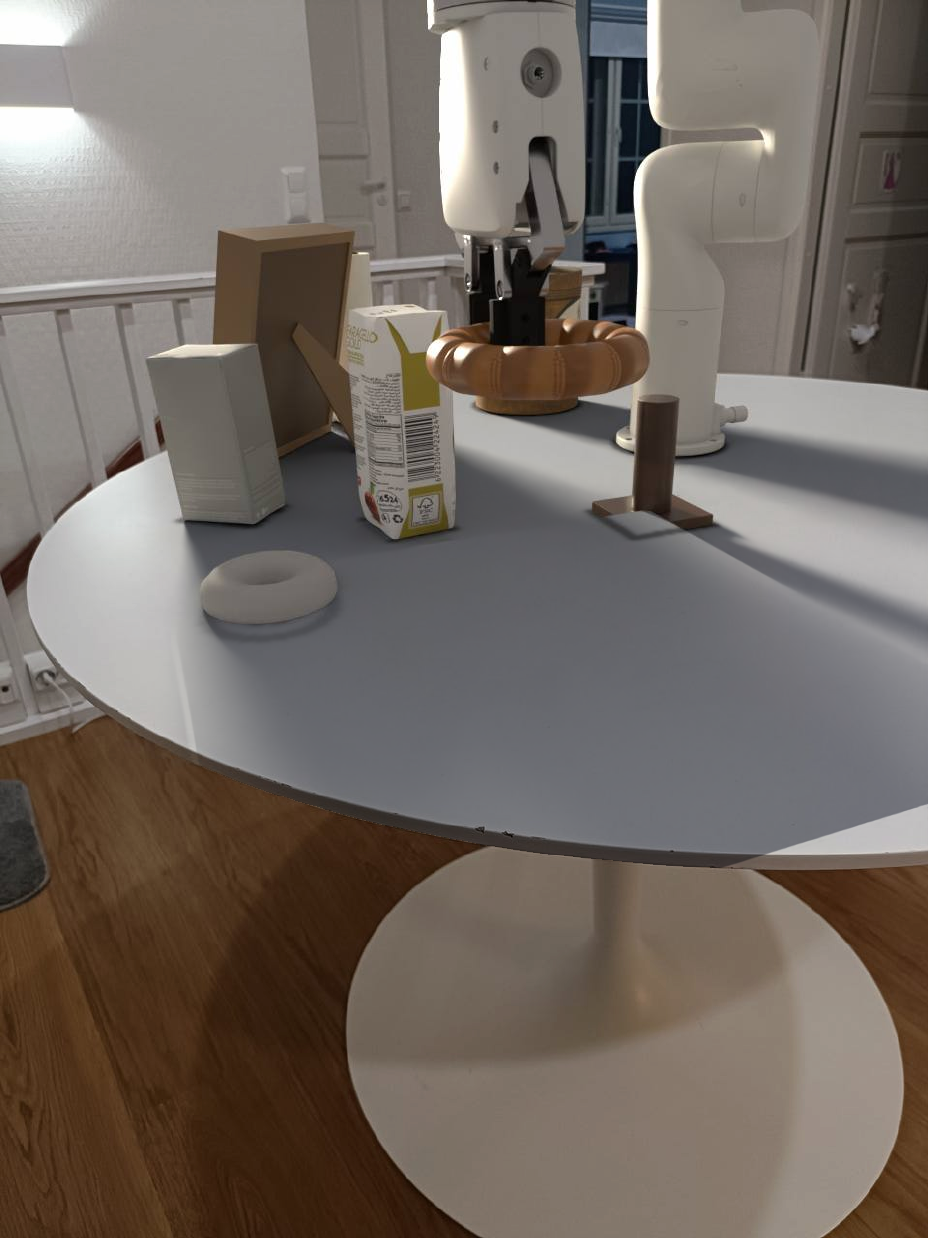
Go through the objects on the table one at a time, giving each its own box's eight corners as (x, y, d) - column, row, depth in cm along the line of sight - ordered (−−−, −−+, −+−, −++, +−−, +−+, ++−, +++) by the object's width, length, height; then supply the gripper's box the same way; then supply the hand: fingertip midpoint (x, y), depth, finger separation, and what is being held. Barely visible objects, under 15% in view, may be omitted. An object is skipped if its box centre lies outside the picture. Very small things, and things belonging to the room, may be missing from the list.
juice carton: (389, 545, 77) (374, 317, 69) (354, 517, 84) (336, 307, 76) (465, 529, 80) (460, 310, 72) (425, 504, 87) (416, 301, 79)
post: (664, 499, 86) (672, 386, 81) (712, 524, 79) (724, 402, 75) (591, 511, 84) (595, 394, 79) (634, 538, 77) (642, 412, 72)
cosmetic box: (287, 506, 87) (268, 341, 81) (249, 530, 81) (224, 354, 75) (215, 499, 90) (189, 339, 83) (172, 522, 84) (141, 351, 77)
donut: (342, 581, 70) (215, 586, 70) (339, 541, 69) (209, 545, 68) (336, 638, 61) (190, 644, 61) (332, 592, 60) (183, 598, 59)
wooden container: (584, 414, 120) (589, 239, 110) (475, 417, 120) (471, 242, 111) (573, 392, 133) (577, 234, 124) (475, 394, 134) (472, 237, 124)
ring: (583, 353, 56) (585, 310, 55) (691, 389, 46) (696, 336, 44) (402, 372, 52) (400, 326, 51) (476, 415, 42) (474, 359, 41)
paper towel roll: (389, 417, 121) (378, 250, 112) (362, 427, 117) (348, 253, 108) (348, 412, 125) (335, 250, 116) (320, 421, 120) (304, 253, 111)
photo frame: (208, 474, 99) (169, 230, 88) (302, 428, 117) (280, 223, 106) (325, 483, 94) (301, 228, 83) (405, 435, 112) (393, 220, 102)
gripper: (651, -40, 39) (630, 383, 47) (506, 21, 52) (509, 340, 61) (494, -48, 36) (500, 398, 45) (385, 19, 50) (405, 350, 58)
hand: (505, 362), depth 53 cm, fingers closed on ring, 2 cm apart
